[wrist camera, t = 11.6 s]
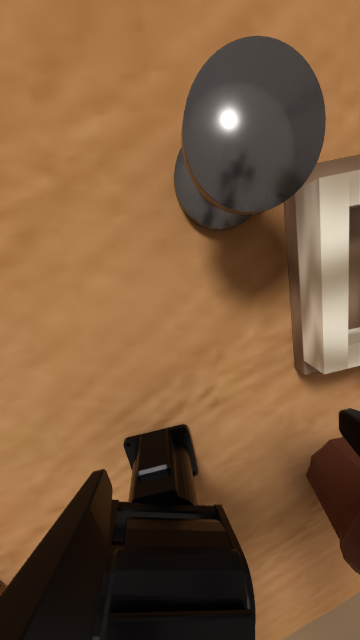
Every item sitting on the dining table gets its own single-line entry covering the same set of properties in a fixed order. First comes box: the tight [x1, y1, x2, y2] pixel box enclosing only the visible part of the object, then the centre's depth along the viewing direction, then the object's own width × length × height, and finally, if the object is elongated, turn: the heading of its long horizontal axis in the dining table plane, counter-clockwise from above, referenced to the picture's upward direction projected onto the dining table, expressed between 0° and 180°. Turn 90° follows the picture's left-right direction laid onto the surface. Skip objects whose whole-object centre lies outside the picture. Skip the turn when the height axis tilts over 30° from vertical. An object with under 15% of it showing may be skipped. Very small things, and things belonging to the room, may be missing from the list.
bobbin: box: [174, 36, 326, 230], centre depth 13 cm, size 7×7×6 cm
